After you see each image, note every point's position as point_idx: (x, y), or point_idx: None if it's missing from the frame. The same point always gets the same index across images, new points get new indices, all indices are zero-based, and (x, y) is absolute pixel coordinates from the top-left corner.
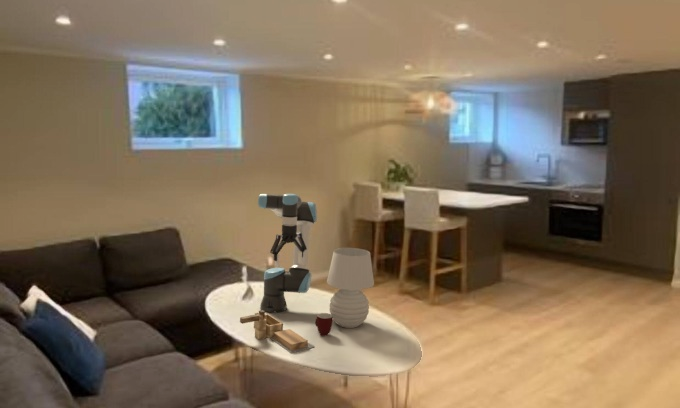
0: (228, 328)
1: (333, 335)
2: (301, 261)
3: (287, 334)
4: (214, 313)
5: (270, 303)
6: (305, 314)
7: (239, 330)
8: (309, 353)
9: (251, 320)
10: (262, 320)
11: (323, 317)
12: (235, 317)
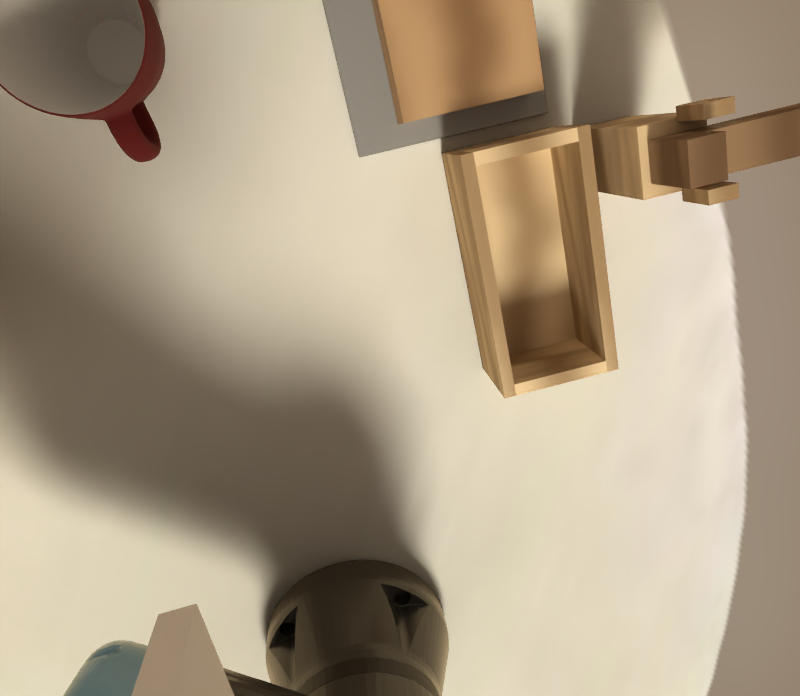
0: (732, 364)
1: None
2: (148, 668)
3: (457, 6)
4: (721, 608)
5: (402, 624)
6: (164, 491)
7: (684, 314)
8: None
9: (778, 110)
10: (680, 105)
11: (68, 111)
12: (633, 528)
